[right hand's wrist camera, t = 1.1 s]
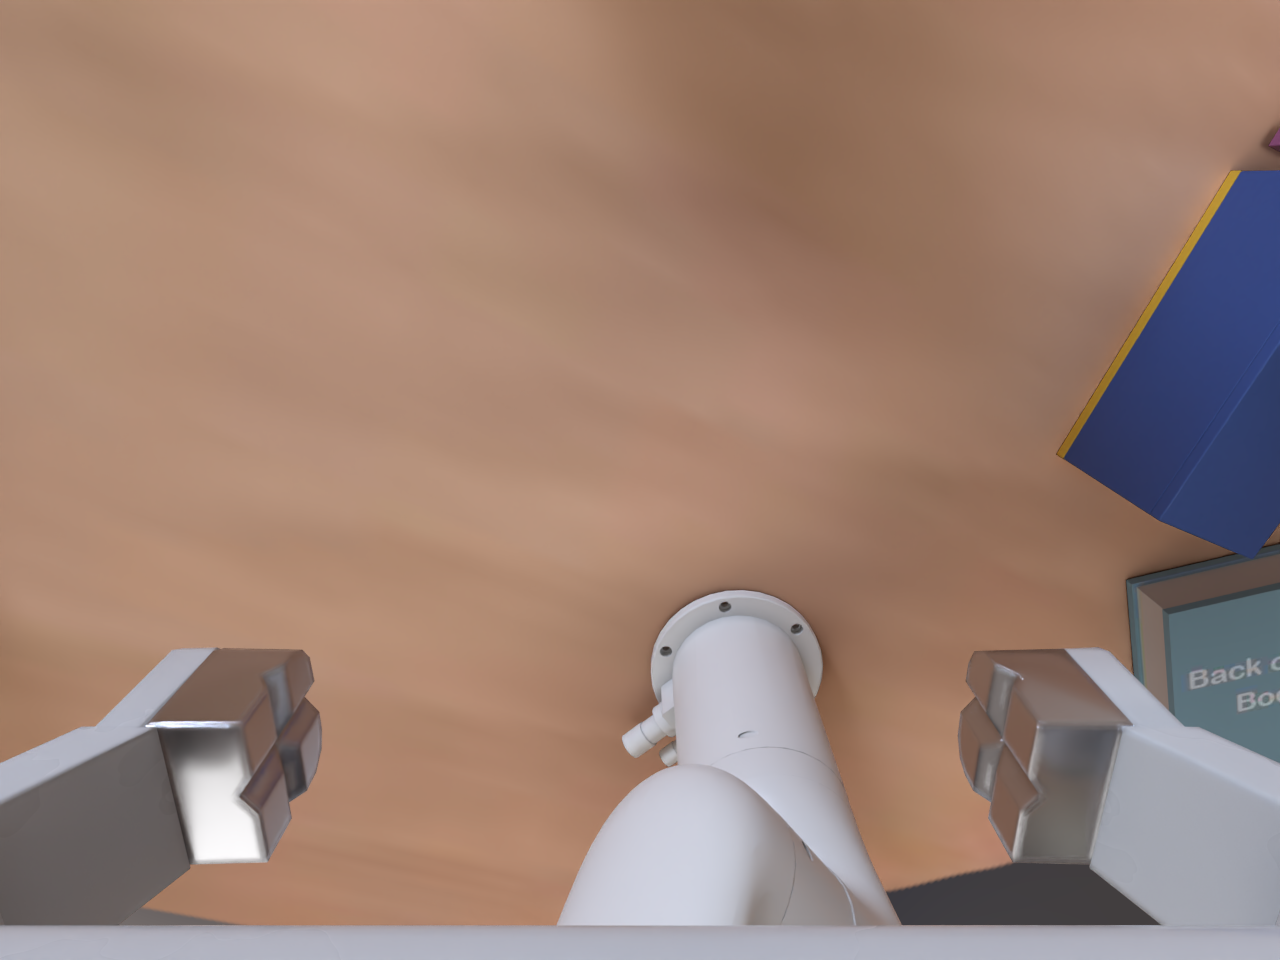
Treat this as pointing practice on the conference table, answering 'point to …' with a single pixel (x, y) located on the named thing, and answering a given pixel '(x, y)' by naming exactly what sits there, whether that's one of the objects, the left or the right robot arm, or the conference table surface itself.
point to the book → (1213, 645)
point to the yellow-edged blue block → (1201, 382)
